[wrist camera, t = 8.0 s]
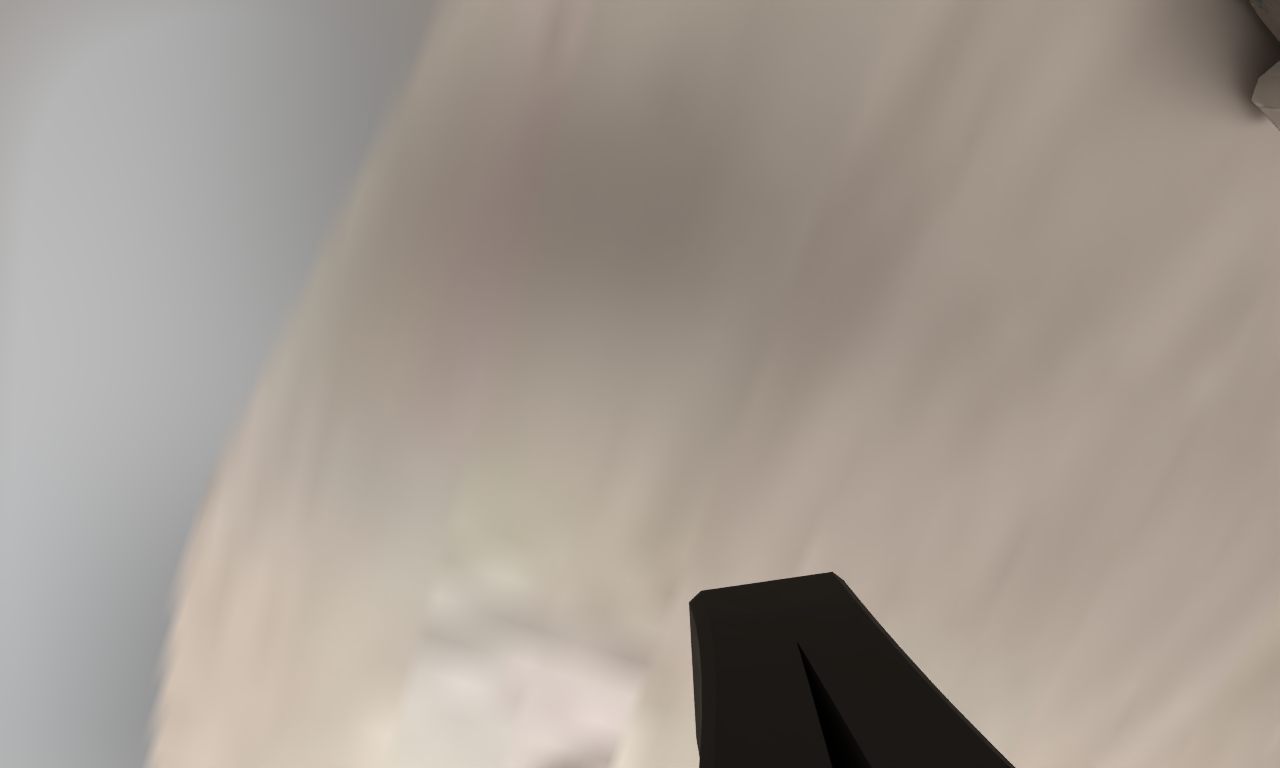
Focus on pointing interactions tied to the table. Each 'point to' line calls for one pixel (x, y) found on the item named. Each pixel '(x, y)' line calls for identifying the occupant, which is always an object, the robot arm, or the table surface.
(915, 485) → the table surface
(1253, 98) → the electrical switch
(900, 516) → the table surface
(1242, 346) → the table surface
